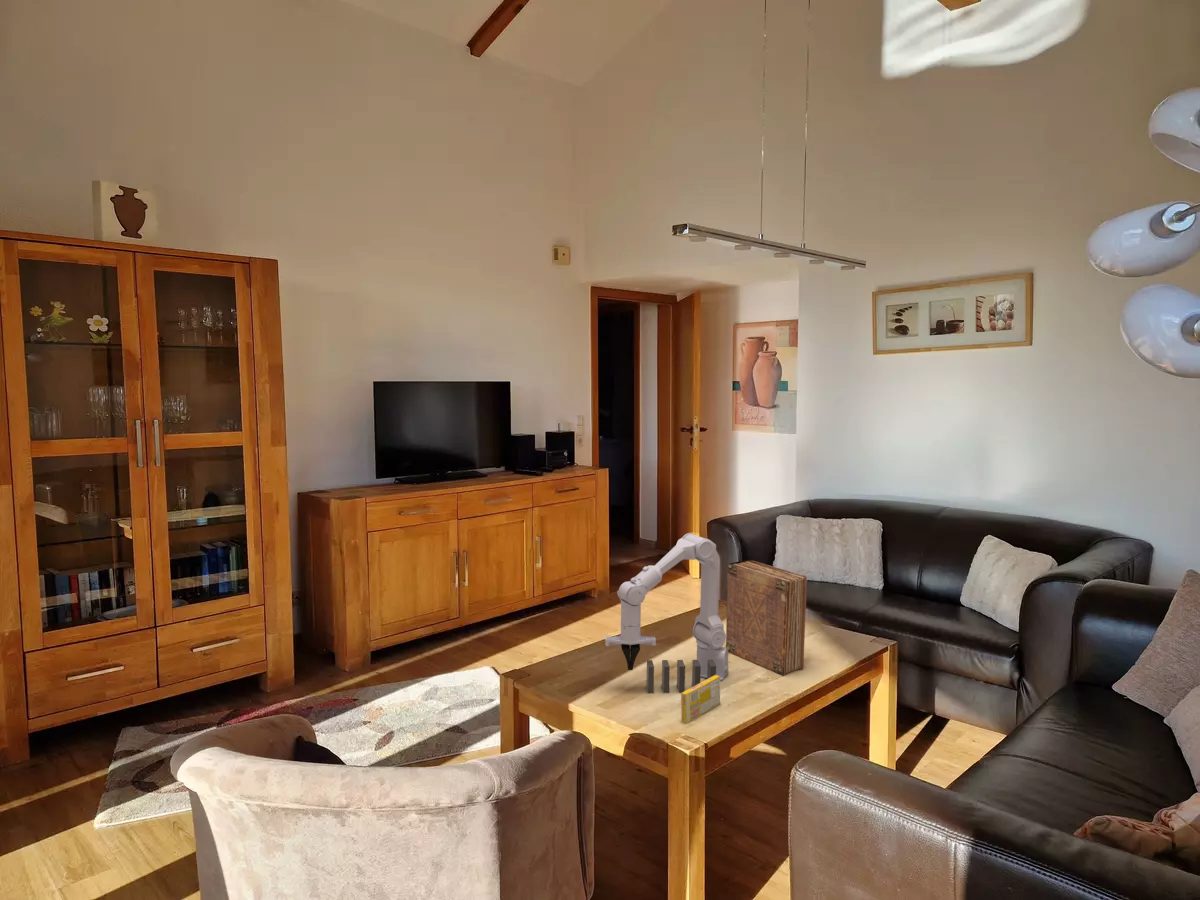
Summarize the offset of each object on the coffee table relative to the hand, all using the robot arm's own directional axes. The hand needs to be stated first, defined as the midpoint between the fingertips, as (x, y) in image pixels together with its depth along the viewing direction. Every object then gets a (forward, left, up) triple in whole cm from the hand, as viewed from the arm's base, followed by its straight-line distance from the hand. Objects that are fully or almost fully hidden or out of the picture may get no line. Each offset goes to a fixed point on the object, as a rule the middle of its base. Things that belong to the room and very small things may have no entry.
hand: (630, 668), depth 229 cm
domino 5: (-22, -10, -6) cm, 25 cm away
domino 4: (-18, -8, -6) cm, 20 cm away
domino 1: (-5, -2, -6) cm, 9 cm away
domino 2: (-9, -4, -6) cm, 12 cm away
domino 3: (-13, -6, -6) cm, 16 cm away
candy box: (-23, +6, -7) cm, 25 cm away
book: (-31, -39, -7) cm, 50 cm away
